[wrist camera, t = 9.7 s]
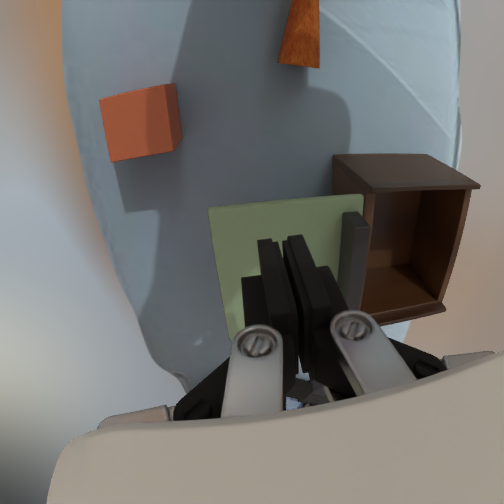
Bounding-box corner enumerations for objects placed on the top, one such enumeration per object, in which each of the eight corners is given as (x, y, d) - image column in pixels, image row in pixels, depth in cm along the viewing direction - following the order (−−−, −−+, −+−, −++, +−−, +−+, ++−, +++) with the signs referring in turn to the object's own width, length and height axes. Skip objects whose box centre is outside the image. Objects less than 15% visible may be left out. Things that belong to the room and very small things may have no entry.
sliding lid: (207, 207, 21) (205, 227, 18) (361, 193, 21) (378, 211, 18) (229, 335, 27) (230, 361, 25) (346, 320, 27) (356, 343, 25)
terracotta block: (120, 94, 23) (98, 99, 19) (175, 83, 23) (164, 84, 19) (129, 147, 25) (110, 162, 21) (183, 138, 26) (174, 151, 21)
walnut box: (332, 154, 27) (372, 187, 20) (426, 154, 28) (480, 184, 20) (328, 275, 34) (353, 331, 27) (409, 264, 35) (445, 311, 27)
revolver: (406, 364, 46) (347, 411, 52) (297, 321, 38) (234, 384, 44) (413, 378, 44) (351, 424, 50) (302, 339, 35) (236, 401, 41)
